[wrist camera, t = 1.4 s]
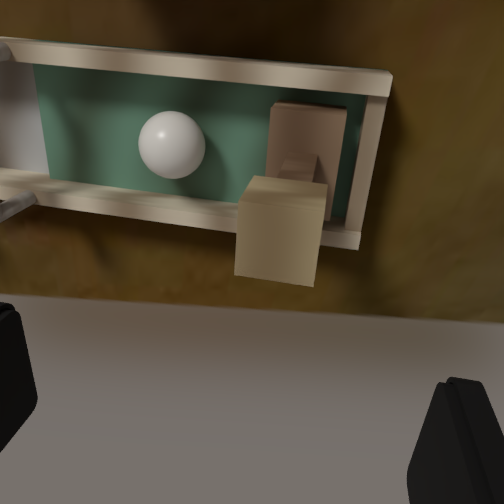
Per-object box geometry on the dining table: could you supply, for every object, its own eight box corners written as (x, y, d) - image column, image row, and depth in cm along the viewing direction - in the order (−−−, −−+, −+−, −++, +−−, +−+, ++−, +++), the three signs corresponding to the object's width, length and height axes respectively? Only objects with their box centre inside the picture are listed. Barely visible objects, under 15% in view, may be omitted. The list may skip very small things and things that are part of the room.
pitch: (387, 70, 26) (401, 85, 19) (356, 227, 30) (359, 283, 24) (-72, 30, 30) (-190, 31, 23) (-36, 174, 34) (-126, 209, 28)
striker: (346, 106, 26) (346, 171, 14) (331, 202, 28) (321, 321, 17) (278, 99, 26) (225, 156, 15) (269, 195, 29) (220, 305, 18)
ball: (213, 109, 27) (194, 121, 24) (212, 171, 29) (194, 191, 26) (152, 102, 28) (124, 114, 24) (154, 164, 30) (129, 183, 26)
